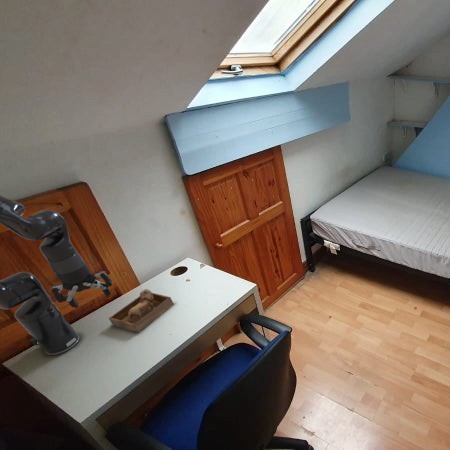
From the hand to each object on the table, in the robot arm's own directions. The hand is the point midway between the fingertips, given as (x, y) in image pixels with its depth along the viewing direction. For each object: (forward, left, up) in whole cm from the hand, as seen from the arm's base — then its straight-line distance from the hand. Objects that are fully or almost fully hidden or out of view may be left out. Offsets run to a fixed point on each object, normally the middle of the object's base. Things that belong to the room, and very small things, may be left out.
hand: (93, 301), depth 112 cm
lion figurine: (+1, +11, -18) cm, 22 cm away
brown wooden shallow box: (+1, +11, -18) cm, 22 cm away
